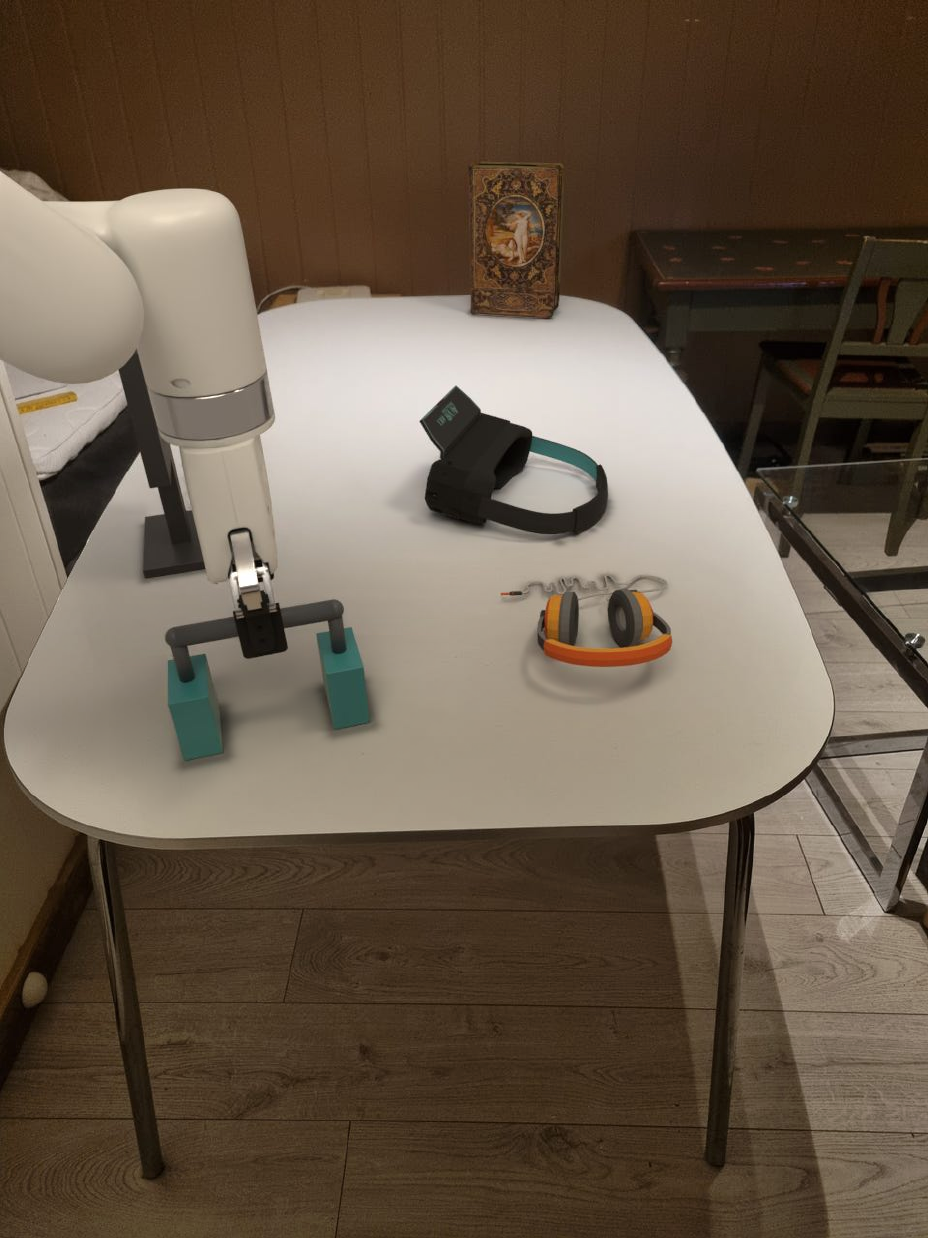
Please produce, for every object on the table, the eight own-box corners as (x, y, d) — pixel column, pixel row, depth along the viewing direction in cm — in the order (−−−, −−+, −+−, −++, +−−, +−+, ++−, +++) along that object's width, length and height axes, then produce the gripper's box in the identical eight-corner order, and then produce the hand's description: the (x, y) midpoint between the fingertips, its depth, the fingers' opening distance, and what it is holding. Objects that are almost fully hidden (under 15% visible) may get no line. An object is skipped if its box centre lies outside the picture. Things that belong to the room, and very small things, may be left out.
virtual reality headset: (454, 446, 112) (465, 373, 105) (615, 495, 108) (636, 422, 101) (397, 511, 97) (406, 431, 91) (581, 570, 93) (602, 490, 87)
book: (467, 314, 162) (465, 166, 147) (475, 305, 166) (473, 161, 151) (553, 319, 158) (559, 168, 143) (558, 310, 162) (565, 163, 148)
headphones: (661, 548, 87) (721, 625, 69) (658, 596, 89) (716, 684, 71) (497, 555, 87) (513, 634, 69) (498, 603, 89) (514, 693, 71)
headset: (184, 761, 68) (152, 654, 62) (183, 715, 72) (153, 611, 66) (370, 722, 71) (357, 617, 65) (358, 681, 76) (345, 578, 69)
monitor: (144, 588, 88) (78, 359, 74) (147, 516, 101) (90, 307, 87) (223, 575, 90) (173, 348, 76) (216, 505, 102) (172, 299, 88)
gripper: (154, 366, 61) (206, 565, 72) (152, 469, 48) (216, 697, 58) (259, 352, 63) (295, 550, 73) (286, 449, 50) (325, 674, 60)
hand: (260, 615), depth 66 cm, fingers open, 9 cm apart
